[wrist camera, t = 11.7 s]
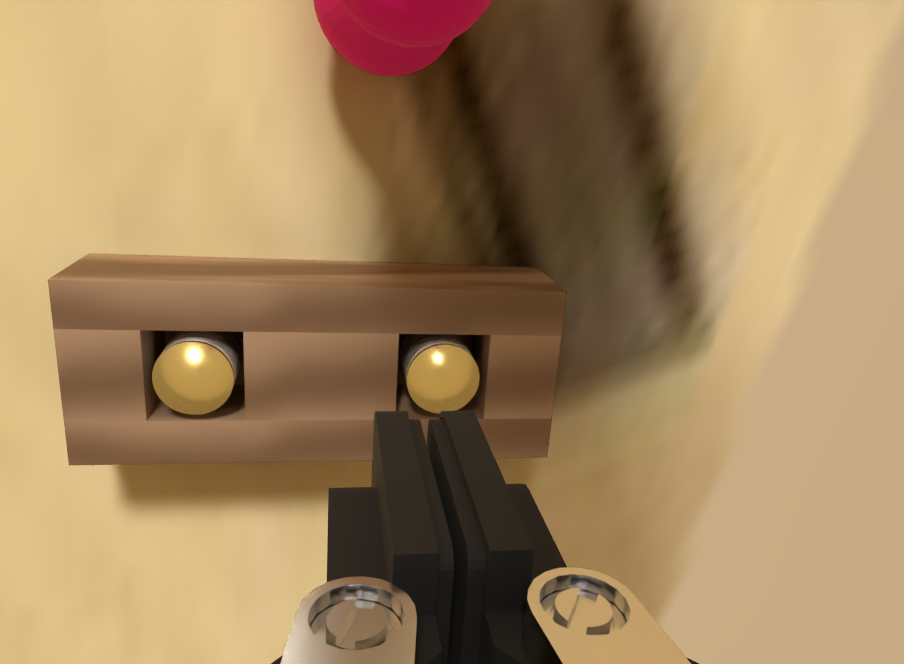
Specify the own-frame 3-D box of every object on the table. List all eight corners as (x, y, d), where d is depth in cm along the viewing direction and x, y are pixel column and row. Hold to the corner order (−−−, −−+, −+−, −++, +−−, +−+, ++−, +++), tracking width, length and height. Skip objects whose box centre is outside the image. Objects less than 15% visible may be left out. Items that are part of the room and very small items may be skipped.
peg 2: (401, 319, 42) (408, 344, 37) (467, 320, 42) (482, 345, 38) (398, 382, 43) (405, 413, 39) (463, 382, 43) (476, 413, 39)
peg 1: (169, 315, 39) (149, 342, 35) (243, 317, 40) (232, 342, 36) (173, 382, 41) (154, 414, 36) (245, 382, 41) (234, 414, 37)
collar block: (88, 253, 39) (47, 279, 34) (537, 267, 44) (566, 292, 38) (104, 416, 42) (69, 465, 37) (521, 414, 47) (547, 457, 41)
